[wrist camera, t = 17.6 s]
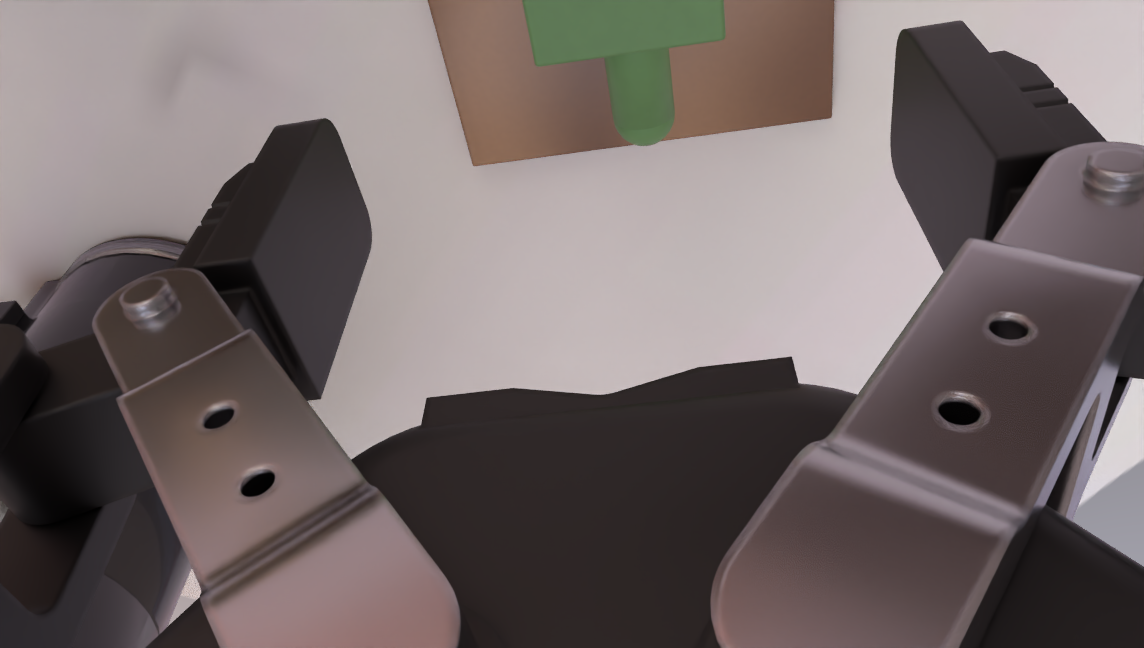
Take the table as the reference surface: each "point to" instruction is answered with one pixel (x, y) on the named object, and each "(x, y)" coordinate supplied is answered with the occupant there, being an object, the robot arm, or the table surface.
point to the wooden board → (580, 89)
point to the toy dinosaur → (626, 50)
